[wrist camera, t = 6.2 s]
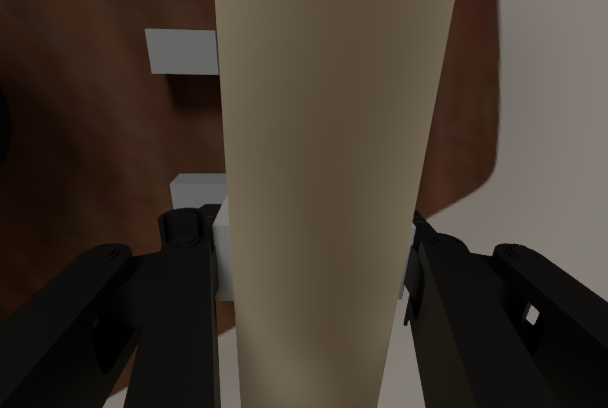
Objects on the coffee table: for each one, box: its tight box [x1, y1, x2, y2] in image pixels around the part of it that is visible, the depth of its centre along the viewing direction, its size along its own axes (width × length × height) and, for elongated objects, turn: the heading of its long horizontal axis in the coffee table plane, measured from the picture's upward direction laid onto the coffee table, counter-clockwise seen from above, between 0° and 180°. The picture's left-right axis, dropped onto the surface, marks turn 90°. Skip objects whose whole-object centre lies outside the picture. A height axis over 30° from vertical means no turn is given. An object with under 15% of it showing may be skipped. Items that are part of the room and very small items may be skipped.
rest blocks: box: [145, 29, 227, 209], centre depth 27 cm, size 5×15×3 cm, turn 179°
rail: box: [215, 0, 455, 408], centre depth 11 cm, size 4×16×5 cm, turn 178°
